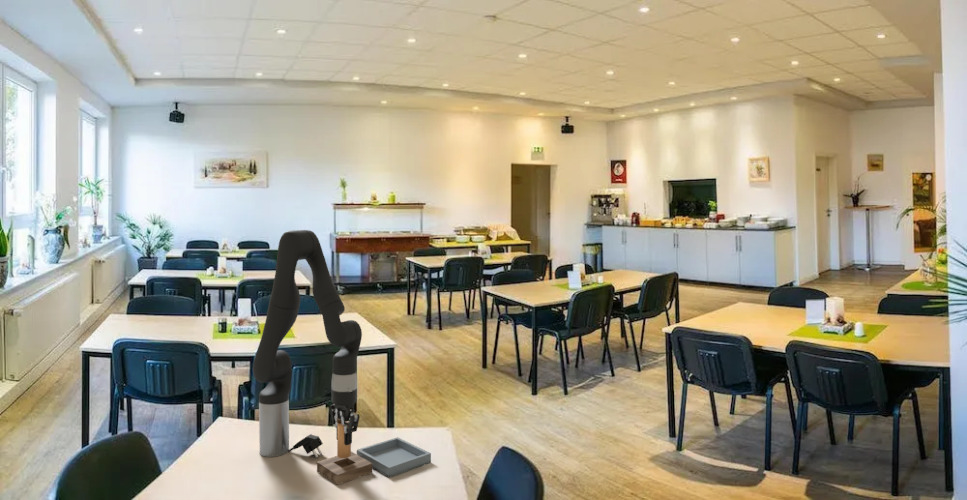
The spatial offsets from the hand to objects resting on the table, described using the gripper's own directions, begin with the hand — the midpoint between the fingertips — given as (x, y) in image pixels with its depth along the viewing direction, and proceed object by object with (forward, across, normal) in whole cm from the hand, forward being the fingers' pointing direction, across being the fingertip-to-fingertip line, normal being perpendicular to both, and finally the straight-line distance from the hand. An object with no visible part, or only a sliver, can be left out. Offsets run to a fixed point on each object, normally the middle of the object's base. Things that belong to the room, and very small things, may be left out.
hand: (344, 441), depth 185 cm
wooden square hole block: (+9, 0, 0) cm, 9 cm away
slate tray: (+9, +3, +16) cm, 19 cm away
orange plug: (+4, 0, 0) cm, 4 cm away
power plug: (+10, -20, -2) cm, 23 cm away
